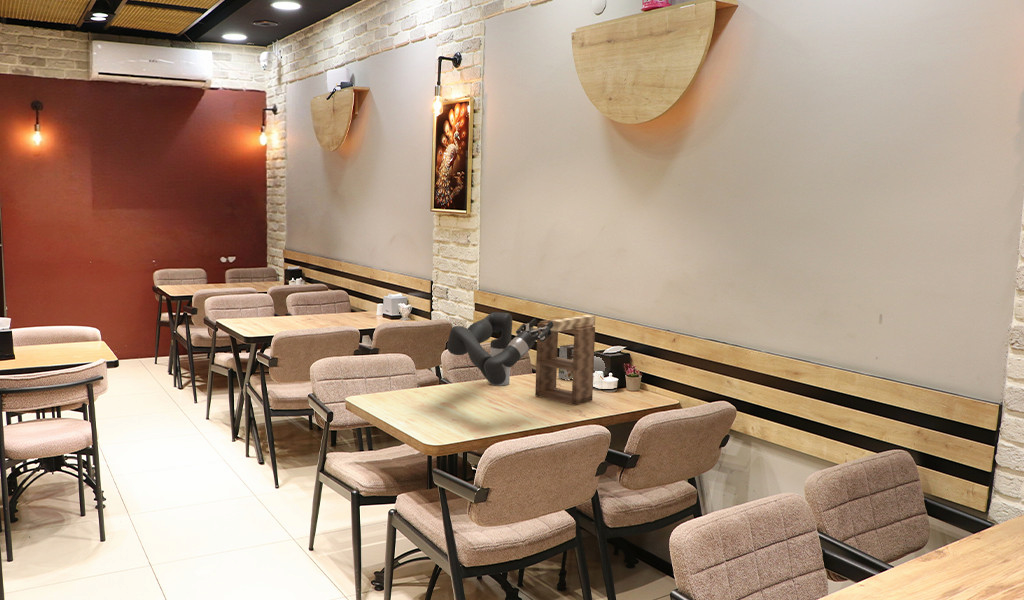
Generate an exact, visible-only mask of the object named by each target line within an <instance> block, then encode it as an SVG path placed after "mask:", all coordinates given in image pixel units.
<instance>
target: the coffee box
mask: <svg viewBox="0 0 1024 600" xmlns="http://www.w3.org/2000/svg"><path fill="white" fill-rule="evenodd" d="M573 353H574V343H573V344H564V345H559V352H558V354H559V356H558V358H564V359H569V360H573ZM558 377H559V378H562V379H566V380H568V379H572V378H573V371H569V370H564V369H560V368H558V374H557V378H558ZM559 378H558V379H559ZM562 379H561V380H562ZM566 380H565V381H566ZM568 381H569V380H568Z"/></svg>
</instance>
